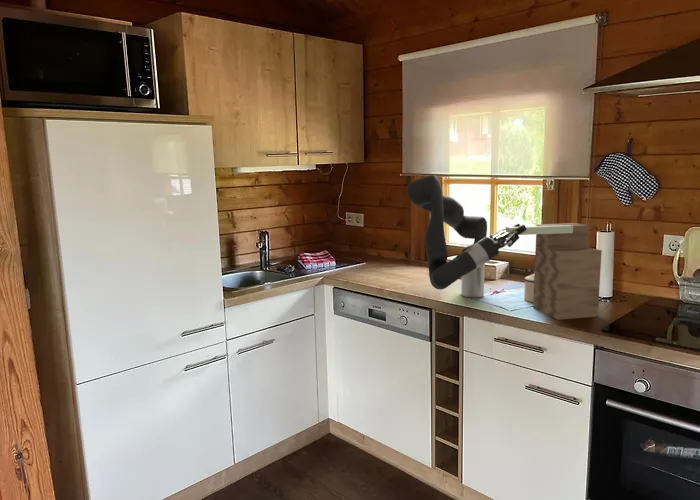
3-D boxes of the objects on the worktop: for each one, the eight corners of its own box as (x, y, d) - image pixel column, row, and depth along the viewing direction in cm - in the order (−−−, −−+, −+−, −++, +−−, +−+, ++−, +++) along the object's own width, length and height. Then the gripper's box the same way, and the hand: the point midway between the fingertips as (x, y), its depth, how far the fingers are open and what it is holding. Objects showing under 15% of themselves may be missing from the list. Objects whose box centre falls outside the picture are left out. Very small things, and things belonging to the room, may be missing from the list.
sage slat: (505, 234, 184) (505, 227, 184) (567, 232, 188) (568, 225, 188) (509, 235, 181) (509, 227, 181) (572, 233, 186) (573, 225, 185)
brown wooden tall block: (533, 307, 202) (536, 224, 197) (570, 305, 205) (575, 222, 200) (557, 319, 187) (561, 229, 182) (597, 316, 190) (603, 227, 185)
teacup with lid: (542, 304, 207) (544, 275, 205) (520, 300, 213) (521, 272, 211) (553, 298, 216) (554, 270, 214) (531, 294, 222) (532, 267, 220)
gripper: (485, 246, 174) (528, 218, 175) (467, 240, 188) (507, 215, 189) (495, 265, 176) (537, 238, 177) (477, 258, 189) (516, 233, 191)
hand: (522, 226), depth 183 cm, fingers closed on sage slat, 3 cm apart
